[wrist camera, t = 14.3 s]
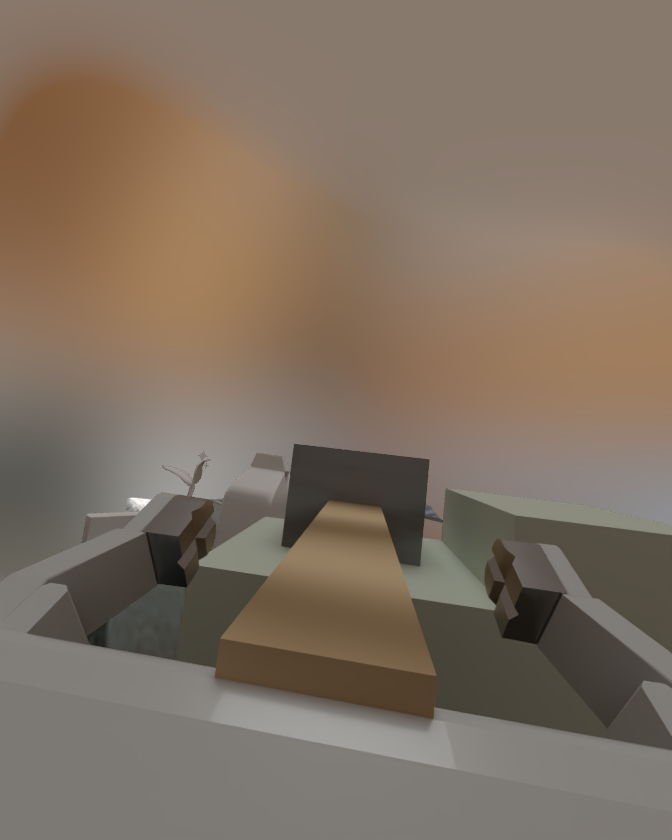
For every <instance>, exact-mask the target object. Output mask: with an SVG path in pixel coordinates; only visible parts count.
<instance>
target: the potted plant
mask: <svg viewBox="0 0 672 840" xmlns="http://www.w3.org/2000/svg"><path fill="white" fill-rule="evenodd" d="M199 456H200V457H201V462H200V463H199V464H198V465H197V467H196V469H195V473H194V478H193V479H192V478H191V477H190V475H189V474H188V473H186V472H184V471H183V470H180V469H177V468H173V467H169V466H163V468H164V469H165V470H168V471H170V472H172V473H174V474H176V475H178V476H179V477H180V478H181V479H182V480H183V481H184V482H185V483H186V484H187V485H188V486H190V488H189V492H188V495H187V496H190V497H192V494H193V492H194V489H195V484H196V483H197V482H198V481H199V480H200V479H201V475H202V466H203V464H204V462H206V461H209V460H210V459H208V460H203V459H204V458H205V457H207V456H206V455H205V453H204V450H203V453H202V454H201V455H199ZM204 466H205V468H206V467H207V466H208V465H207V463H206V465H204Z"/></svg>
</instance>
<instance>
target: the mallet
mask: <svg viewBox="0 0 672 840" xmlns="http://www.w3.org/2000/svg"><path fill="white" fill-rule="evenodd" d="M428 470H429V460H428V459H421V458H412V457H402V456H394V455H386V454H377V453H368V452H360V451H351V450H341V449H333V448H325V447H316V446H308V445H298V444H294V449H293V457H292V465H291V473H290V480H289V488H288V496H287V504H286V512H285V520H284V528H283V535H282V543H281V546H282V547H289V548H291V549H290V550H289V552H288V553H287V554H286V555H285V557H284V558H283V559H282V561H281V562H280V563H279V564H278V566H277V567H276V568H275V569H274V571H273V572H272V573H271V574H270V576H269V577H268V578H267V580H266V581H265V582H264V583H263V585H262V586H261V587H260V588H259V590H258V591H257V592H256V593H255V595H254V596H253V597H252V599H251V600H250V601H249V602H248V604H247V605H246V606H245V607H244V609H243V610H242V611H241V612H240V614H239V615H238V616H237V618H236V619H235V620H234V621H233V623H232V624H231V625H230V626H229V628H228V629H227V630H226V631H225V633H224V634H223V635H222V637H221V638H220V642H219V649H218V657H217V664H216V671H215V677H216V678H221V679H226V680H232V681H237V682H242V683H247V684H253V685H258V686H263V687H269V688H274V689H279V690H284V691H290V692H295V693H300V694H306V695H311V696H316V697H321V698H327V699H332V700H337V701H342V702H348V703H353V704H358V705H364V706H369V707H374V708H379V709H385V710H390V711H395V712H400V713H406V714H411V715H416V716H421V717H427V718H432V719H433V718H434V706H435V693H436V681H437V675H436V672H435V669H434V666H433V663H432V660H431V657H430V654H429V651H428V648H427V645H426V642H425V639H424V636H423V633H422V630H421V627H420V624H419V621H418V618H417V615H416V612H415V608H414V605H413V602H412V599H411V596H410V593H409V590H408V587H407V584H406V581H405V578H404V575H403V572H402V569H401V566H400V564H406V565H413V566H420V561H421V550H422V539H423V527H424V516H425V504H426V492H427V482H428V481H427V480H428Z"/></svg>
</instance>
